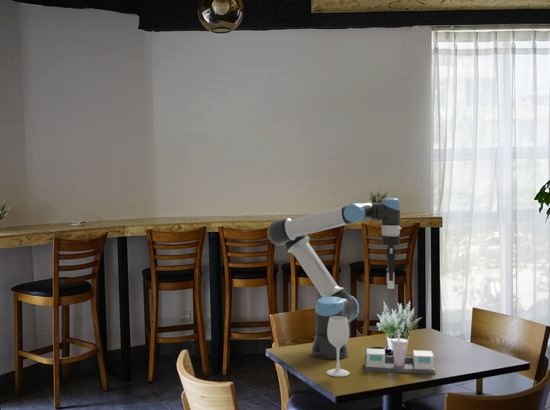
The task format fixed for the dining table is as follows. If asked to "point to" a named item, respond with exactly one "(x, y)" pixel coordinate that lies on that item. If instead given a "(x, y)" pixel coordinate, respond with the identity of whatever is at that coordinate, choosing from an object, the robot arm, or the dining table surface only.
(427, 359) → the mounted modules
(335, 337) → the wineglass
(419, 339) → the dining table surface
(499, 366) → the dining table surface
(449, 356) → the dining table surface
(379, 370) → the rail plate
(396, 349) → the smoothie
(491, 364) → the dining table surface
